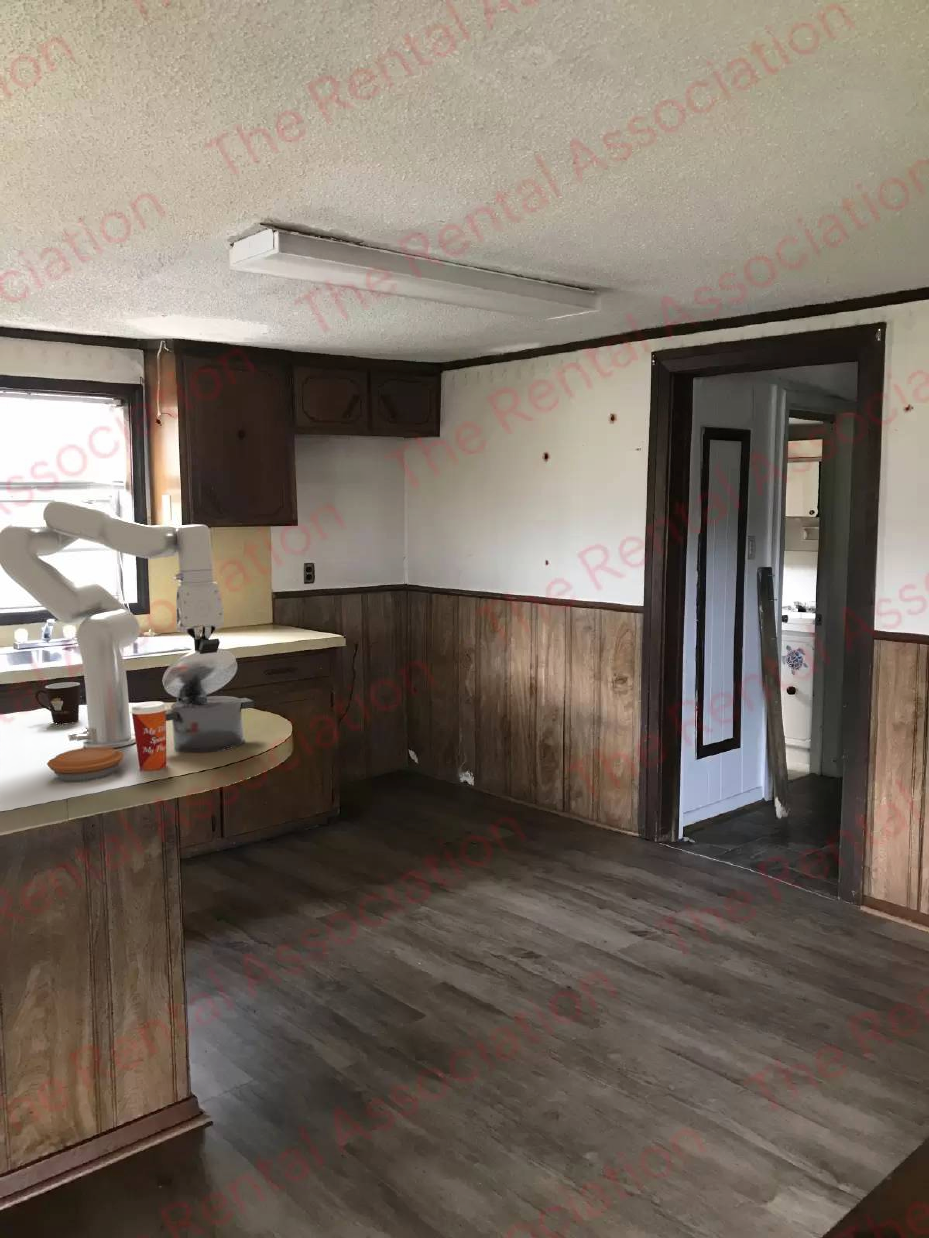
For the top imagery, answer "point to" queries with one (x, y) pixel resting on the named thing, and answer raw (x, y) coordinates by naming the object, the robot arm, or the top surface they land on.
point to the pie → (86, 764)
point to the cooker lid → (200, 671)
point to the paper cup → (150, 734)
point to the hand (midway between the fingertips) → (202, 655)
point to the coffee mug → (62, 701)
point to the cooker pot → (207, 723)
